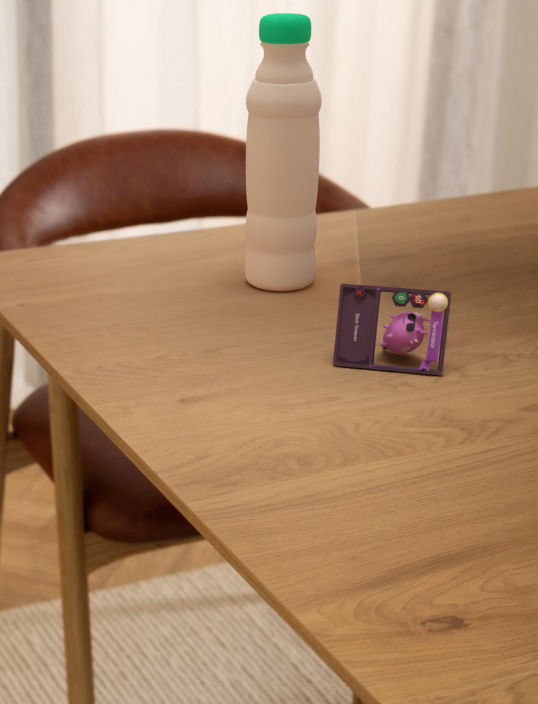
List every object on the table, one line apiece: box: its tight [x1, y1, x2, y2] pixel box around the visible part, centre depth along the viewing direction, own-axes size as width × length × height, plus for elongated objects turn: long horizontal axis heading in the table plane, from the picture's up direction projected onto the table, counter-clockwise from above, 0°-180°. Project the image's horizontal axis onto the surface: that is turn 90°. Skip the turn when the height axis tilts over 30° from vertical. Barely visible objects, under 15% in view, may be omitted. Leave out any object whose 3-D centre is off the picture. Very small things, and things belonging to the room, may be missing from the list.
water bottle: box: [244, 12, 323, 292], centre depth 113 cm, size 7×7×25 cm
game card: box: [332, 283, 452, 376], centre depth 99 cm, size 7×5×9 cm
